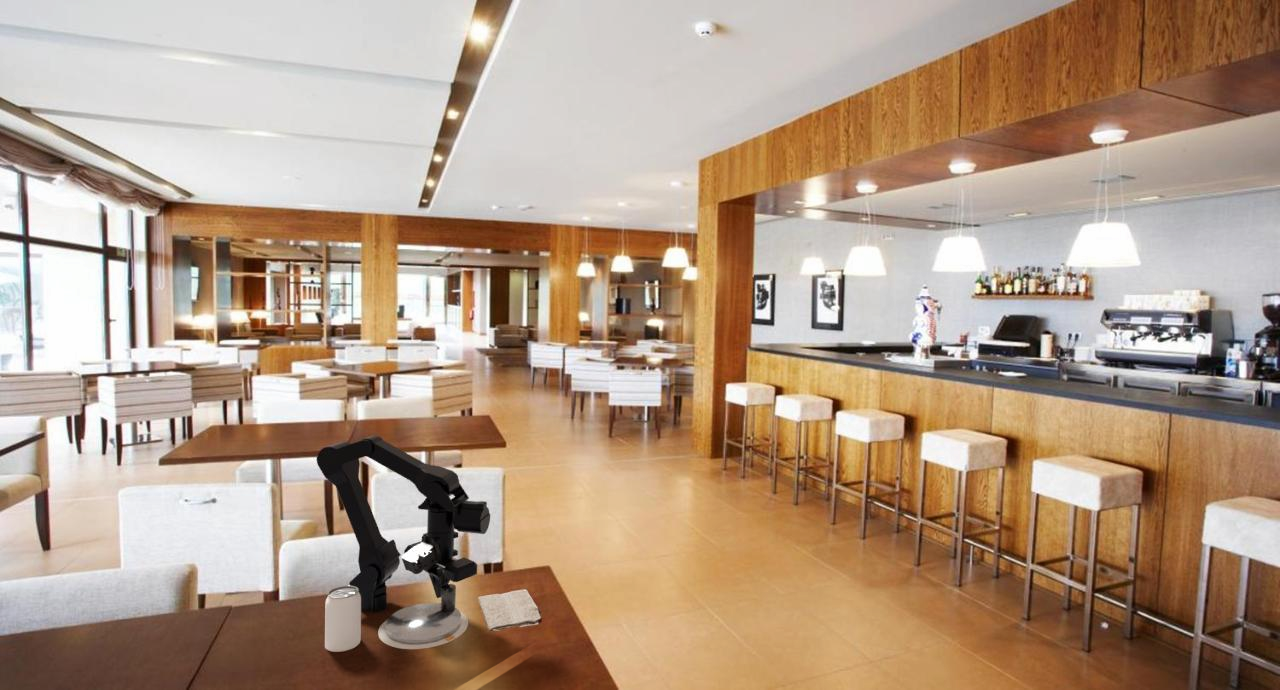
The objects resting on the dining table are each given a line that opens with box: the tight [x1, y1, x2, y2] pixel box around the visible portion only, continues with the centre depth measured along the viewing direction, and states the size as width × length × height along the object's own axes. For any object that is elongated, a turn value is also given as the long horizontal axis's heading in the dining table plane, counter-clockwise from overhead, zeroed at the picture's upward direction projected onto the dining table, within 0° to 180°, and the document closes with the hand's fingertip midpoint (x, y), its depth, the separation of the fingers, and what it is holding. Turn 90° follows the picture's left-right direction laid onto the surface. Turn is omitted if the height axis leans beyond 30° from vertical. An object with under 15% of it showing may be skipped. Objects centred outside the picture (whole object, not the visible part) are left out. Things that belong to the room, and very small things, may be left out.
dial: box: [386, 583, 462, 644], centre depth 137 cm, size 15×15×6 cm
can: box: [324, 585, 362, 653], centre depth 129 cm, size 6×6×12 cm
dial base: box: [377, 611, 469, 650], centre depth 137 cm, size 18×18×2 cm
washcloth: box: [477, 589, 542, 632], centre depth 146 cm, size 12×18×3 cm, turn 24°
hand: (439, 597), depth 144 cm, fingers closed
